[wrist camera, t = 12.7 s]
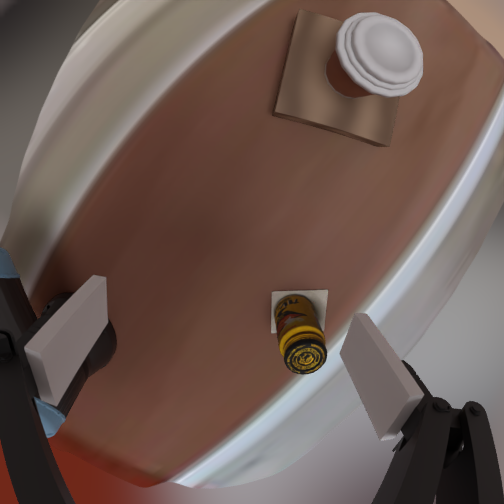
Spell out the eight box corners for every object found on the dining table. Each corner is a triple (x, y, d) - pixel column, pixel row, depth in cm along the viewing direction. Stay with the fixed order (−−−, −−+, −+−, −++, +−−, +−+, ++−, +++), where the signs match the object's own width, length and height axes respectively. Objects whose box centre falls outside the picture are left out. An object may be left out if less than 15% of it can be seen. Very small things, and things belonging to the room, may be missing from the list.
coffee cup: (388, 61, 30) (438, 35, 18) (373, 120, 32) (423, 111, 21) (323, 32, 29) (353, -10, 17) (304, 92, 31) (331, 66, 20)
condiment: (271, 291, 44) (279, 338, 33) (327, 289, 44) (351, 333, 33) (271, 332, 46) (277, 384, 35) (323, 329, 46) (342, 379, 35)
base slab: (272, 115, 36) (275, 111, 32) (294, 20, 31) (299, 8, 27) (377, 146, 37) (389, 146, 33) (394, 54, 32) (406, 47, 29)
